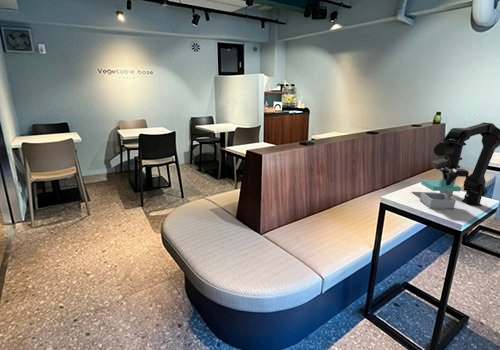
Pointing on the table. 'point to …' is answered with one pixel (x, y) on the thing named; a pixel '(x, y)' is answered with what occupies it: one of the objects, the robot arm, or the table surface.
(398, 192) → the table surface
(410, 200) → the table surface
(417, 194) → the mat
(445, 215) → the table surface
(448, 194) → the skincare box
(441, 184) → the lid
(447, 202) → the tub
